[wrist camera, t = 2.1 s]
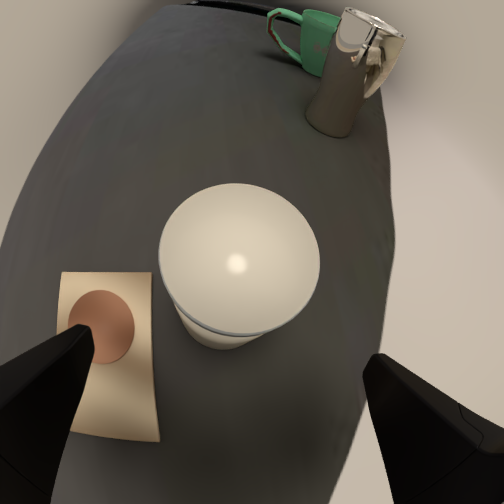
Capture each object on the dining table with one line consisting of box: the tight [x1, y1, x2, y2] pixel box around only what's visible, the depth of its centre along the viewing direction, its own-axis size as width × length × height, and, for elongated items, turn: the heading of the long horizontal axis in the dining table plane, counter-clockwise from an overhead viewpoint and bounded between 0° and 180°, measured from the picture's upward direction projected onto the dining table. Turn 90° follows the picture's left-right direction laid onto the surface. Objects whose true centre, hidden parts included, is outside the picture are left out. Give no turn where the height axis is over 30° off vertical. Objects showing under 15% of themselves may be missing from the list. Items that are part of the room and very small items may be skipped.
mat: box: [57, 272, 160, 442], centre depth 16 cm, size 12×8×1 cm, turn 5°
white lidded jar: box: [159, 184, 320, 350], centre depth 15 cm, size 6×6×10 cm
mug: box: [267, 8, 340, 77], centre depth 31 cm, size 15×10×10 cm
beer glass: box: [305, 7, 406, 138], centre depth 23 cm, size 7×7×15 cm
